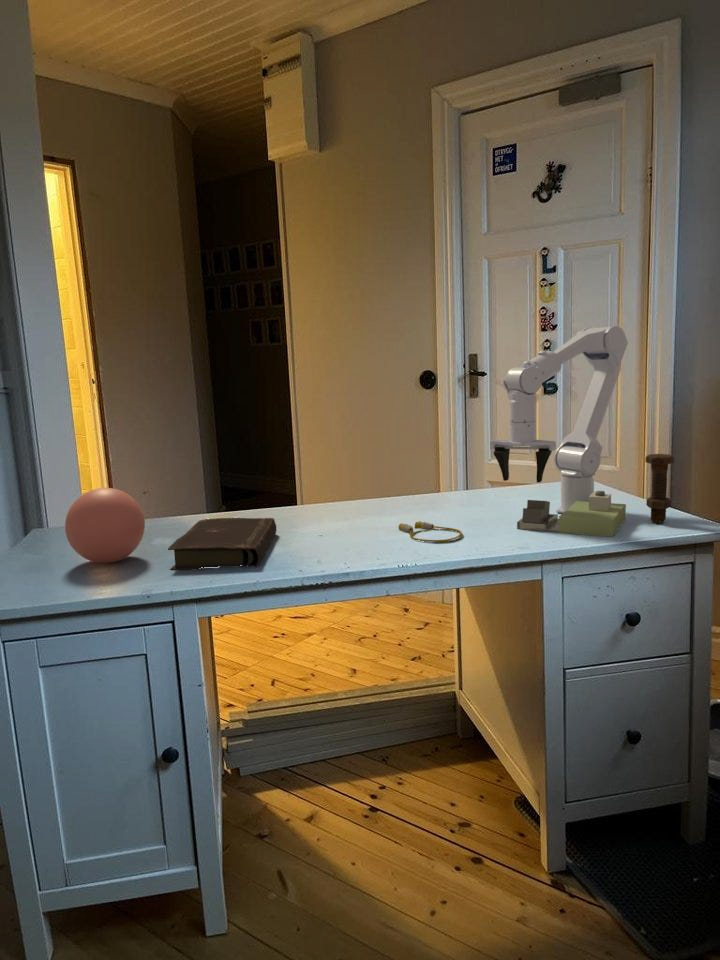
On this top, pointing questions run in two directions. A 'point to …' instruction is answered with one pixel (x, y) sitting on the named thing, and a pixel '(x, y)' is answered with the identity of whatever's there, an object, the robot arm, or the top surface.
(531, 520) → the stepped block
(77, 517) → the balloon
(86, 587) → the top surface
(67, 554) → the top surface
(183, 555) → the diary
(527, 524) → the grey rectangular frame
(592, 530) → the deck
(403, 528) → the extension cord
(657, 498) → the bolt
